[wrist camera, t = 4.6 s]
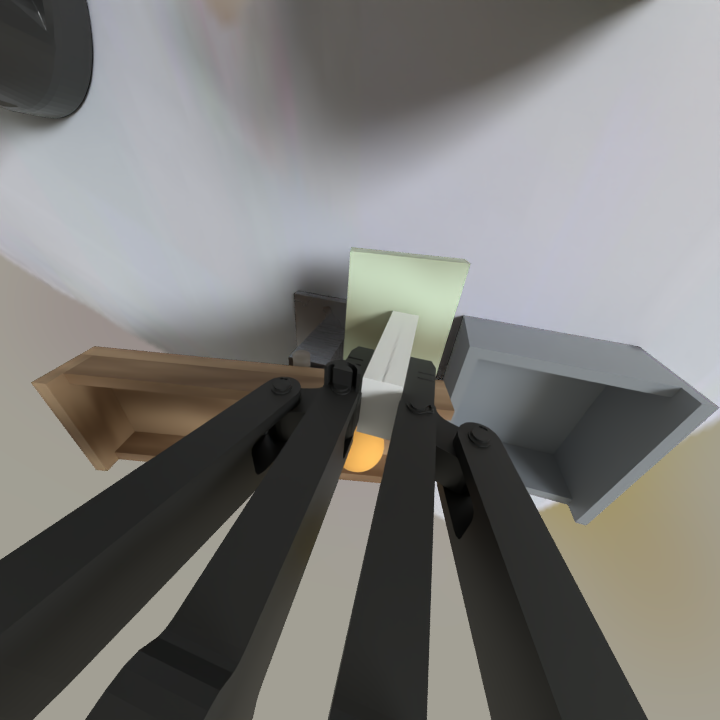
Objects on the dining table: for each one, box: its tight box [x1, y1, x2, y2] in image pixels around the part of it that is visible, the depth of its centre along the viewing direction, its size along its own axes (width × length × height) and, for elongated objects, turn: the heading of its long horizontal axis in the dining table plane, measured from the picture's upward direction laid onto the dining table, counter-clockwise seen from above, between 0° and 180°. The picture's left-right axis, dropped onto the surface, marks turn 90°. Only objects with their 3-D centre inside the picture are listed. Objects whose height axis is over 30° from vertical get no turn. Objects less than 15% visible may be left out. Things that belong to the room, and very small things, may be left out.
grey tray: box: [443, 316, 720, 525], centre depth 22 cm, size 13×13×7 cm
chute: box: [31, 247, 470, 483], centre depth 17 cm, size 17×24×5 cm
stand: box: [289, 291, 347, 369], centre depth 25 cm, size 12×8×7 cm, turn 175°
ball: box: [343, 426, 384, 472], centre depth 18 cm, size 4×4×4 cm
